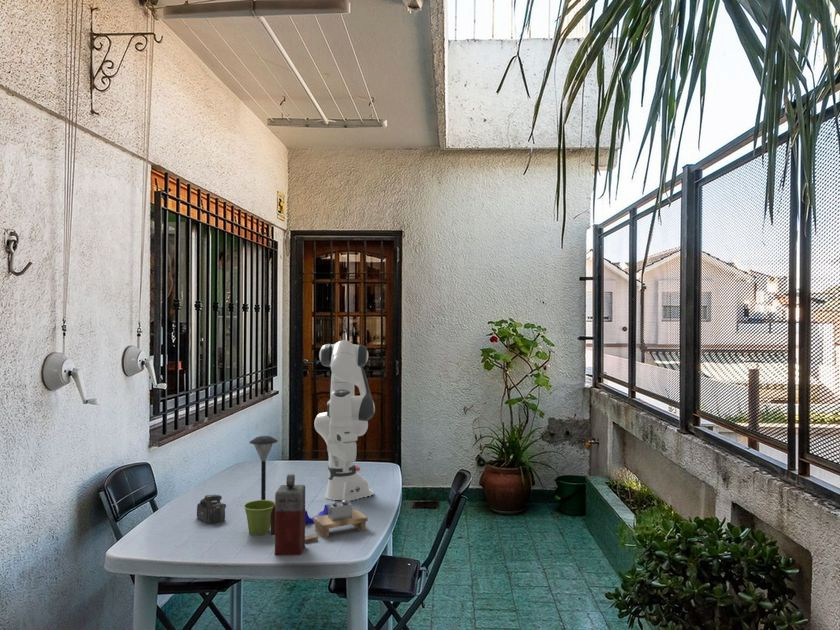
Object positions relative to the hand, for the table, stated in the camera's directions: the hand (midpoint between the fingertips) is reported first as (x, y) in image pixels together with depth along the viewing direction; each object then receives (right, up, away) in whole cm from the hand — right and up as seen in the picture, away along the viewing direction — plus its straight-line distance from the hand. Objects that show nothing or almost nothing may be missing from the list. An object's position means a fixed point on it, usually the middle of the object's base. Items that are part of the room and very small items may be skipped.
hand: (340, 469), depth 222 cm
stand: (0, -24, 0) cm, 24 cm away
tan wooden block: (-10, -25, -12) cm, 29 cm away
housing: (0, -18, 0) cm, 18 cm away
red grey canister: (-16, -24, -21) cm, 36 cm away
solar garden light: (-38, -24, +30) cm, 54 cm away
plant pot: (-30, -24, -2) cm, 39 cm away
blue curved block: (-12, -25, +12) cm, 30 cm away
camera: (-54, -24, +13) cm, 61 cm away
